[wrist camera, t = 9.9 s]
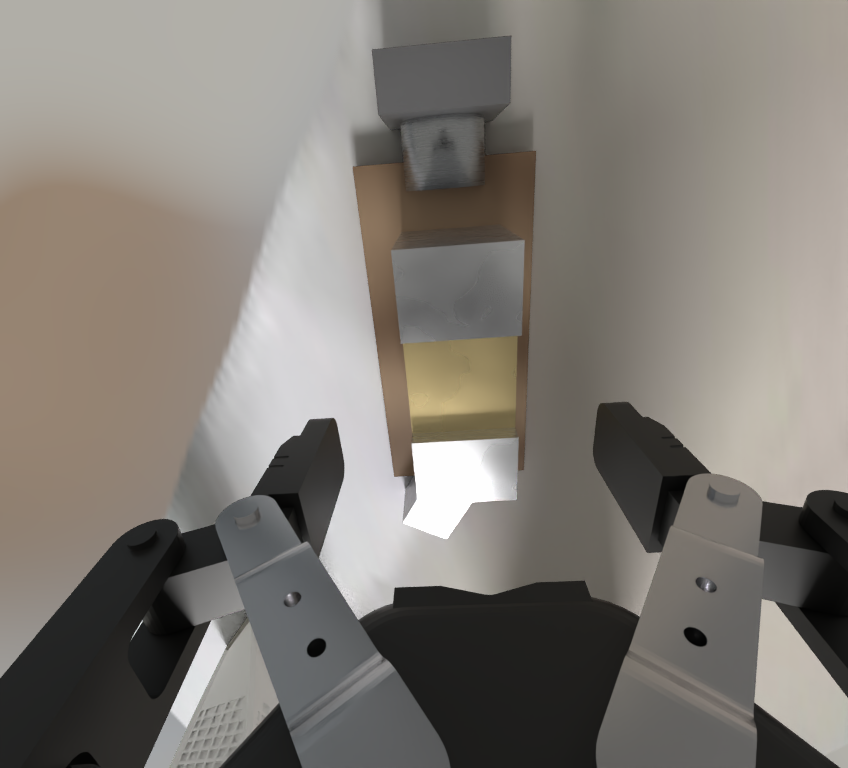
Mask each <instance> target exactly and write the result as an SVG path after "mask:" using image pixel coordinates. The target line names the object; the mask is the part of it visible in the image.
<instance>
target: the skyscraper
mask: <svg viewBox="0 0 848 768" xmlns="http://www.w3.org/2000/svg"><path fill="white" fill-rule="evenodd" d="M278 703H279V701H278V699H277V696H276V693H275V690H274V688H273V685H272V682H271V679H270V677H269V674H268V671H267V668H266V666H265V663H264V660H263V657H262V655H261V652H260V649H259V647H258V644H257V641H256V638H255V636H254V633H253V630H252V627H251V625H250V622H249V619H248V617H247V618H246V620H245V621H244V623H243V624H242V626H241V627H240V628H239V630H238V631H237V633H236V634H235V635H234V637H233V638H232V640H231V641H230V643H229V644H228V645H227V647H226V649H225V651H224V653H223V655H222V657H221V659H220V661H219V663H218V665H217V667H216V669H215V671H214V673H213V675H212V677H211V679H210V681H209V683H208V685H207V687H206V689H205V691H204V693H203V695H202V697H201V699H200V702H199V704H198V706H197V708H196V710H195V712H194V714H193V716H192V719H191V721H190V723H189V725H188V727H187V729H186V731H185V733H184V736H183V738H182V740H181V742H180V744H179V747H178V749H177V751H176V753H175V756H174V758H173V760H172V762H171V765H170V767H169V768H219V767H220V766H221V765H222V764H223V763H224V762H225V761H226V760H227V758H228V757H229V756H230V755H231V754H232V753H233V752H234V751H235V750H236V749H237V748H238V747H239V745H240V744H241V743H242V742H243V741H244V740H245V739H246V738H247V737H248V736H249V735H250V734H251V732H252V731H253V730H254V729H255V728H256V727H257V726H258V725H259V724H260V723H261V722H262V720H263V719H264V718H265V717H266V716H267V715H268V714H269V713H270V712H271V711H272V710H273V709H274V707H275V706H276V705H277V704H278Z"/></svg>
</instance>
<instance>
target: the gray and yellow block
mask: <svg viewBox="0 0 848 768" xmlns="http://www.w3.org/2000/svg"><path fill="white" fill-rule="evenodd" d="M524 246H525V240H524V239H522V238H521V237H519V236H517V235H516V234H514V233H513V232H511V231H509V230H508V229H506V228H504V227H503V226H501V225H500V224H498V225H486V226H473V227H460V228H448V229H435V230H422V231H410V232H401V234H400V235H399V237H398V239H397V241H396V242H395V244H394V246H393V248H392V249H391V256H392V266H393V275H394V284H395V294H396V303H397V312H398V322H399V331H400V340H401V344H403V350H404V359H405V369H406V378H407V388H408V397H409V407H410V417H411V426H412V453H413V462H414V472H415V481H416V490H417V500H418V505H423V504H443V503H464V502H485V501H506V500H517V477H518V444H519V437H518V434H517V431H516V428H515V417H516V377H517V338H518V336H522V312H523V279H524Z"/></svg>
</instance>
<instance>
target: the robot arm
mask: <svg viewBox="0 0 848 768" xmlns="http://www.w3.org/2000/svg"><path fill="white" fill-rule="evenodd" d="M593 456H594V461H595V465H596V467H597V469H598V471H599V472H600V474H601V476H602V478H603V479H604V481H605V483H606V484H607V486H608V488H609V489H610V491H611V493H612V494H613V496H614V498H615V499H616V501H617V503H618V504H619V506H620V508H621V510H622V511H623V513H624V515H625V516H626V518H627V520H628V521H629V523H630V525H631V526H632V528H633V530H634V531H635V533H636V535H637V537H638V538H639V540H640V542H641V543H642V545H643V547H644V548H645V550H646V552H647V553H654V552H662V553H661V556H660V559H659V562H658V565H657V568H656V571H655V574H654V577H653V580H652V583H651V586H650V589H649V592H648V595H647V597H646V600H645V603H644V606H643V609H642V612H641V615H640V617H639V616H638V615H636V614H634V613H632V612H630V611H628V610H626V609H624V608H623V607H620V606H618V605H615V604H613V603H610V602H607V601H604V600H601V599H597V598H593V597H591V596H590V594H589V591H588V588H587V586H586V583H585V581H566V582H539V583H534V584H530V585H527V586H523V587H519V588H516V589H512V590H509V591H505V592H502V593H498V594H494V595H484V594H479V593H474V592H469V591H463V590H458V589H453V588H448V587H443V586H428V587H400V588H395V590H394V601H393V604H390V605H386V606H384V607H381V608H379V609H376V610H374V611H372V612H371V613H369V614H367V615H365V616H364V617H362V618H361V619H359V620H358V619H357V618H356V616H355V614H354V613H353V611H352V610H351V608H350V607H349V605H348V604H347V602H346V600H345V599H344V597H343V596H342V594H341V593H340V591H339V589H338V588H337V586H336V585H335V583H334V582H333V580H332V578H331V577H330V575H329V574H328V572H327V571H326V569H325V567H324V566H323V564H322V563H321V561H320V560H319V556H320V552H321V549H322V546H323V543H324V540H325V536H326V533H327V530H328V527H329V524H330V520H331V517H332V514H333V511H334V508H335V505H336V501H337V498H338V495H339V492H340V489H341V485H342V482H343V478H344V459H343V453H342V448H341V443H340V438H339V433H338V427H337V423H336V420H335V419H334V418H326V419H310V420H309V421H308V422H307V424H306V426H305V428H304V430H303V432H302V433H301V435H300V436H292V437H291V438H290V439H289V440H287V441H286V442H285V443H284V444H282V445H281V446H280V448H279V450H278V451H277V453H276V454H275V456H274V459H272V461H271V463H270V464H269V468H267V469H266V471H265V473H264V474H263V476H262V478H261V479H260V481H259V483H258V484H257V486H256V488H255V489H254V491H253V493H252V494H251V496H249V497H246V498H243V499H240V500H238V501H236V502H234V503H232V504H231V505H229V506H228V507H227V508H225V509H224V510H223V511H222V512H221V513H220V515H219V516H218V518H217V520H216V524H214V525H211V526H208V527H204V528H200V529H197V530H193V531H189V532H185V533H182V534H181V532H180V530H179V527H178V525H177V524H176V522H174V521H172V520H168V519H159V520H153V521H150V522H146V523H144V524H141V525H139V526H137V527H135V528H133V529H131V530H130V531H128V532H126V533H125V534H124V535H122V536H121V537H120V538H119V539H117V540H116V541H115V543H113V545H112V546H111V547H110V548H109V549H108V551H107V552H106V553H105V554H104V555H103V556H102V558H101V559H100V560H99V562H97V564H96V565H95V566H94V567H93V568H92V570H91V571H90V572H89V573H88V574H87V576H86V577H85V578H84V579H83V580H82V582H81V583H80V584H79V585H78V586H77V588H76V589H75V590H74V591H73V592H72V593H71V595H70V596H69V597H68V598H67V599H66V601H65V602H64V603H63V604H62V605H61V607H60V608H59V609H58V610H57V611H56V613H55V614H54V615H53V616H52V617H51V619H50V620H49V621H48V622H47V623H46V624H45V626H44V627H43V628H42V629H41V630H40V632H39V633H38V634H37V635H36V636H35V638H34V639H33V640H32V641H31V642H30V644H29V645H28V646H27V647H26V649H25V650H24V651H23V652H22V653H21V654H20V655H19V657H18V658H17V659H16V661H15V662H14V663H13V664H12V665H11V666H10V668H9V669H8V670H7V671H6V672H5V673H4V675H3V676H2V677H1V678H0V768H144V766H145V764H146V762H147V760H148V758H149V755H150V753H151V751H152V749H153V747H154V744H155V742H156V740H157V738H158V736H159V734H160V731H161V729H162V727H163V725H164V723H165V720H166V718H167V716H168V714H169V712H170V709H171V707H172V705H173V703H174V701H175V699H176V696H177V694H178V692H179V690H180V688H181V685H182V683H183V681H184V679H185V677H186V674H187V672H188V670H189V668H190V666H191V664H192V661H193V659H194V657H195V655H196V653H197V650H198V648H199V646H200V644H201V642H202V639H203V637H204V635H205V633H206V631H207V629H208V626H209V624H210V622H211V620H214V619H217V618H220V617H223V616H226V615H229V614H232V613H235V612H238V611H241V610H244V609H245V611H246V614H247V616H248V619H249V622H250V625H251V627H252V630H253V633H254V636H255V638H256V641H257V644H258V647H259V649H260V652H261V655H262V657H263V660H264V663H265V666H266V668H267V671H268V674H269V677H270V679H271V682H272V685H273V688H274V690H275V693H276V696H277V699H278V701H279V703H278V704H277V705H276V706H275V707H274V709H273V710H272V711H271V712H270V713H269V714H268V715H267V716H266V717H265V718H264V719H263V720H262V722H261V723H260V724H259V725H258V726H257V727H256V728H255V729H254V730H253V731H252V732H251V734H250V735H249V736H248V737H247V738H246V739H245V740H244V741H243V742H242V743H241V744H240V745H239V747H238V748H237V749H236V750H235V751H234V752H233V753H232V754H231V755H230V756H229V757H228V758H227V760H226V761H225V762H224V763H223V764H222V765H221V766H220V767H219V768H839V767H838V766H837V765H836V764H834V763H833V762H832V761H830V760H829V759H828V758H826V757H825V756H824V755H823V754H821V753H820V752H819V751H817V750H816V749H815V748H813V747H812V746H811V745H809V744H808V743H807V742H805V741H804V740H803V739H801V738H800V737H799V736H798V735H796V734H795V733H794V732H792V731H791V730H790V729H788V728H787V727H786V726H784V725H783V724H782V723H780V722H779V721H778V720H776V719H775V718H774V717H773V716H771V715H770V714H769V713H767V712H766V711H765V710H763V709H762V708H761V707H759V706H758V705H757V704H755V703H754V697H755V683H756V670H757V656H758V642H759V628H760V614H761V601H762V599H765V600H770V601H774V602H775V603H776V604H777V605H778V607H779V608H780V609H781V611H782V612H783V613H784V615H785V616H786V617H787V618H788V620H789V621H790V622H791V624H792V625H793V626H794V628H795V629H796V630H797V632H798V633H799V634H800V636H801V637H802V638H803V639H804V641H805V642H806V643H807V645H808V646H809V647H810V649H811V650H812V651H813V653H814V654H815V655H816V657H817V658H818V659H819V660H820V662H821V663H822V664H823V666H824V667H825V668H826V670H827V671H828V672H829V674H830V675H831V676H832V678H833V679H834V680H835V681H836V683H837V684H838V685H839V687H840V688H841V689H842V691H843V692H844V693H845V695H846V696H847V697H848V493H844V492H839V491H832V490H818V491H814V492H812V493H810V494H809V495H808V496H807V498H806V501H805V503H804V506H803V508H802V507H795V506H789V505H782V504H776V503H770V502H764V501H762V499H761V497H760V496H759V495H758V493H757V492H756V491H755V490H753V489H752V488H751V487H749V486H748V485H746V484H744V483H742V482H740V481H738V480H736V479H733V478H730V477H727V476H723V475H718V474H711V473H710V472H709V471H708V470H707V468H706V467H705V466H704V465H703V464H702V463H701V462H700V461H699V460H698V459H697V458H696V457H695V456H694V455H693V454H692V453H691V452H690V451H689V450H688V449H687V448H686V447H683V444H682V443H681V442H680V441H679V440H678V439H677V438H675V436H674V435H673V434H672V433H671V432H670V431H669V430H668V429H667V428H666V427H665V426H664V425H662V424H660V423H658V422H656V421H654V420H653V419H651V418H649V417H642V416H641V415H640V414H639V413H638V412H637V411H636V410H635V409H634V407H633V406H632V405H631V404H630V403H628V402H614V403H601V404H600V405H599V407H598V410H597V418H596V427H595V436H594V445H593ZM142 620H143V622H142V624H141V625H140V627H139V629H138V630H137V632H136V633H135V631H136V629H137V628H138V626H139V624H140V623H141V621H142ZM134 633H135V635H134V637H133V638H132V636H133V634H134ZM131 638H132V640H131Z"/></svg>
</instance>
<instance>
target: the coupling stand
mask: <svg viewBox="0 0 848 768" xmlns="http://www.w3.org/2000/svg"><path fill="white" fill-rule="evenodd" d="M372 57H373V66H374V76H375V85H376V95H377V105H378V114H379V116H380V118H381V119H382V120H383V121H384V123H385V124H386V125H387V127H388V128H389V129H390V130H395V129H401V138H402V150H403V161H404V162H402V163H390V164H379V165H367V166H356V167H353V173H354V180H355V188H356V195H357V202H358V210H359V217H360V225H361V232H362V240H363V247H364V255H365V262H366V269H367V277H368V284H369V292H370V299H371V307H372V314H373V321H374V329H375V336H376V344H377V351H378V359H379V366H380V374H381V381H382V388H383V396H384V403H385V411H386V418H387V426H388V433H389V440H390V448H391V455H392V463H393V470H394V477H398V476H413V478H412V480H411V481H410V483H409V485H408V486H407V488H406V490H405V501H404V513H403V523H404V524H407V525H409V526H412V527H415V528H418V529H420V530H423V531H426V532H429V533H431V534H434V535H437V536H439V537H442V538H445V539H447V538H448V536H449V535H450V533H451V532H452V530H453V529H454V528H455V526H456V525H457V523H458V522H459V520H460V519H461V517H462V516H463V515H464V513H465V512H466V510H467V509H468V507H469V506H470V504H471V503H472V502H464V503H443V504H423V505H418V500H417V490H416V481H415V472H414V462H413V453H412V426H411V417H410V407H409V397H408V388H407V378H406V369H405V359H404V350H403V344H401V340H400V331H399V322H398V312H397V303H396V294H395V284H394V275H393V266H392V256H391V249H392V248H393V246H394V244H395V242H396V241H397V239H398V237H399V235H400V234H401V232H410V231H422V230H435V229H448V228H460V227H473V226H486V225H498V224H500V225H501V226H503V227H504V228H506V229H508V230H509V231H511V232H513V233H514V234H516V235H517V236H519V237H521V238H522V239H524V240H525V246H524V279H523V312H522V336H518V338H517V377H516V417H515V428H516V431H517V434H518V437H519V444H518V470H524V451H525V425H526V399H527V372H528V346H529V320H530V294H531V268H532V242H533V216H534V189H535V163H536V151H529V152H517V153H506V154H494V155H485V138H484V121H493V120H494V119H495V118H496V117H497V116H498V115H499V114H500V113H501V112H502V111H503V110H504V109H505V108H506V107H507V106H508V105H509V104H510V90H511V36H503V37H493V38H483V39H473V40H463V41H453V42H443V43H433V44H423V45H413V46H403V47H393V48H383V49H373V50H372Z"/></svg>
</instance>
